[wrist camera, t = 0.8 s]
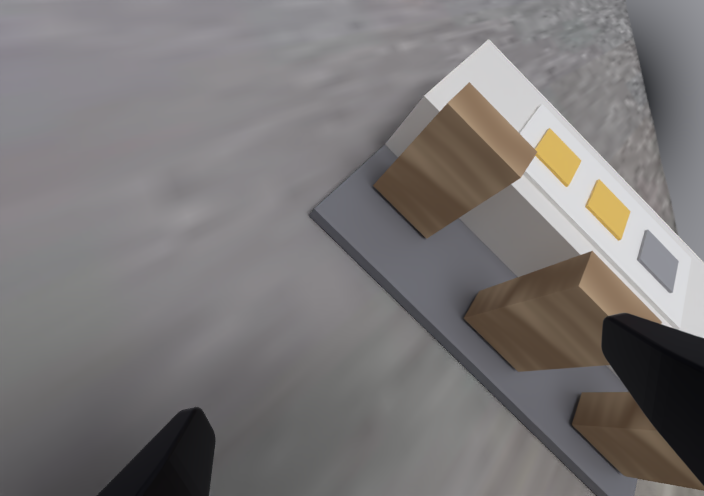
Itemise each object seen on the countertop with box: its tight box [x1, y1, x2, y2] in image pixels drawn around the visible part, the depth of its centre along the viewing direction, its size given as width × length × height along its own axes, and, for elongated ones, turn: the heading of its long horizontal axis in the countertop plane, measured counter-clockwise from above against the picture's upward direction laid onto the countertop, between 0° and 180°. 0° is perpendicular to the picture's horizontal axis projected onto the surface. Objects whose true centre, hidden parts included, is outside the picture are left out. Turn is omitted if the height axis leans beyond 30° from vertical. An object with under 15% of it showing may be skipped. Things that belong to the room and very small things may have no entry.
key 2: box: [373, 82, 537, 239], centre depth 22 cm, size 2×5×8 cm, turn 51°
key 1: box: [572, 392, 704, 490], centre depth 21 cm, size 2×5×8 cm, turn 51°
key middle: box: [464, 251, 662, 372], centre depth 21 cm, size 2×5×8 cm, turn 51°
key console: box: [309, 40, 704, 496], centre depth 26 cm, size 18×28×6 cm, turn 51°
